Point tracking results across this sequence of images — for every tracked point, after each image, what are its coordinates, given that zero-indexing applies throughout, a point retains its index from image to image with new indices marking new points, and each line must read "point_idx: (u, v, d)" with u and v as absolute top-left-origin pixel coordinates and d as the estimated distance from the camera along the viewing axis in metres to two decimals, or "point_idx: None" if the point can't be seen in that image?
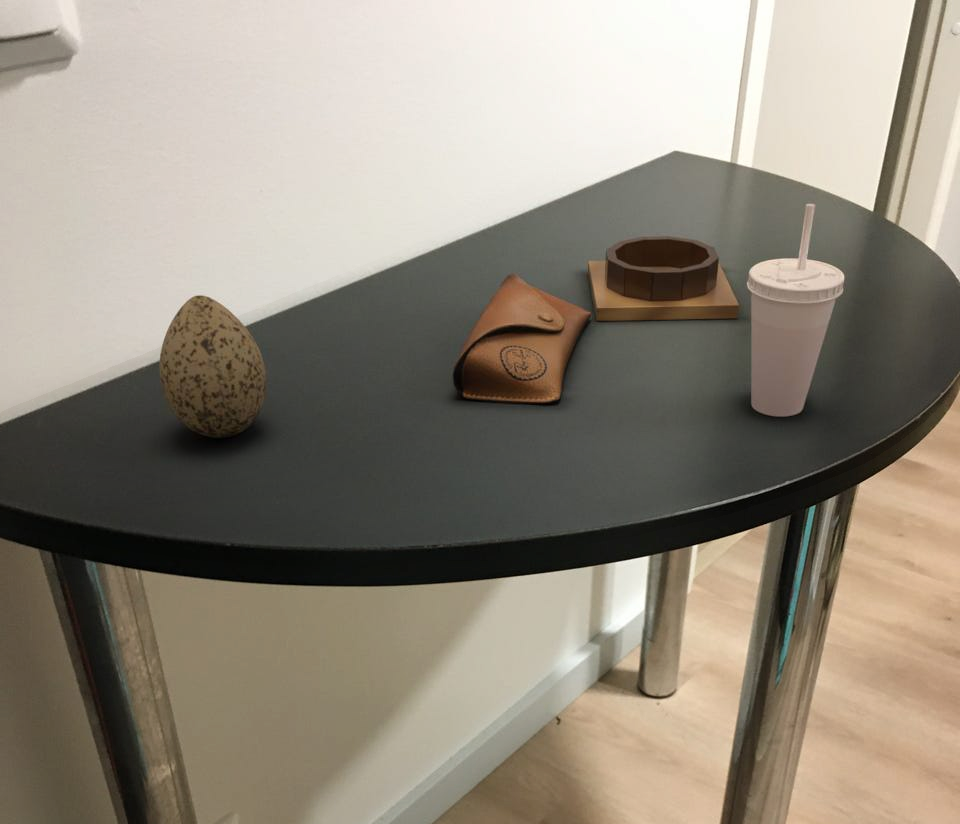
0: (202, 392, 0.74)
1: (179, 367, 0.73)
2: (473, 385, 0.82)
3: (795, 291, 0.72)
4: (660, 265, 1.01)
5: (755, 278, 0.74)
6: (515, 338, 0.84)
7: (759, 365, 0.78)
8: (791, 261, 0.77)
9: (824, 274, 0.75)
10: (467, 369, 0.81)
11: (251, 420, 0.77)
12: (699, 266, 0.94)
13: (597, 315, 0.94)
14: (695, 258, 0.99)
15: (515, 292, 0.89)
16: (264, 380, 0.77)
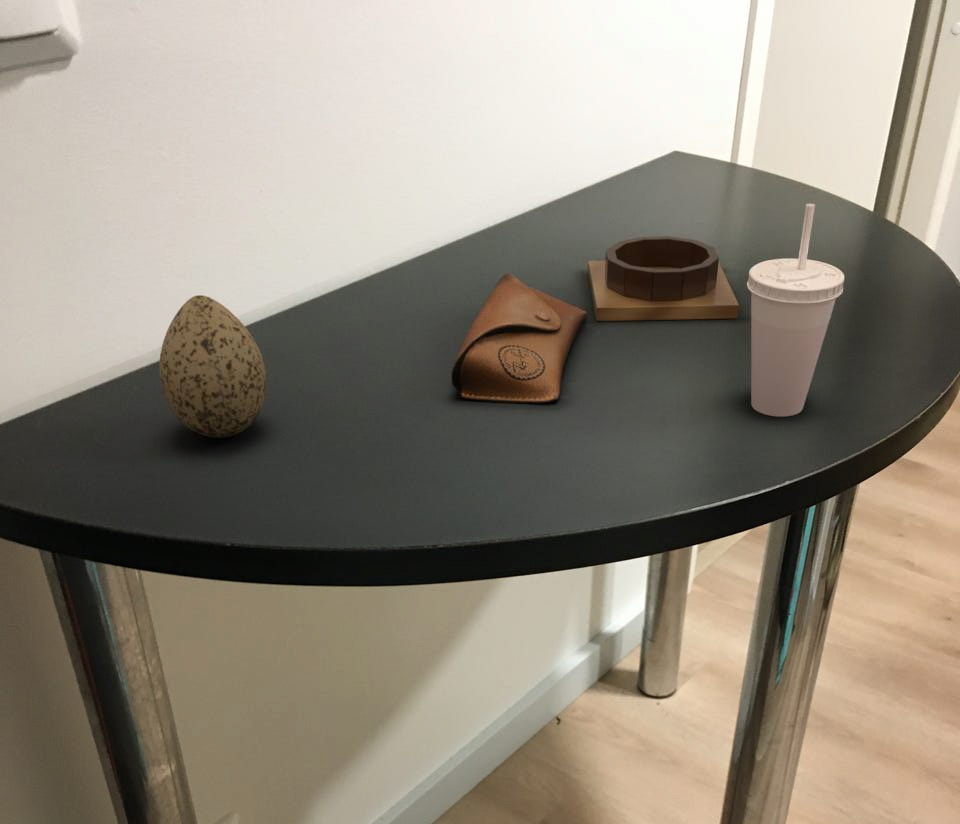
0: (202, 392, 0.74)
1: (179, 367, 0.73)
2: (471, 385, 0.82)
3: (795, 291, 0.72)
4: (660, 265, 1.01)
5: (755, 278, 0.74)
6: (513, 337, 0.84)
7: (759, 365, 0.78)
8: (791, 261, 0.77)
9: (824, 274, 0.75)
10: (466, 369, 0.81)
11: (251, 420, 0.77)
12: (699, 266, 0.94)
13: (597, 315, 0.94)
14: (695, 258, 0.99)
15: (511, 291, 0.89)
16: (264, 380, 0.77)
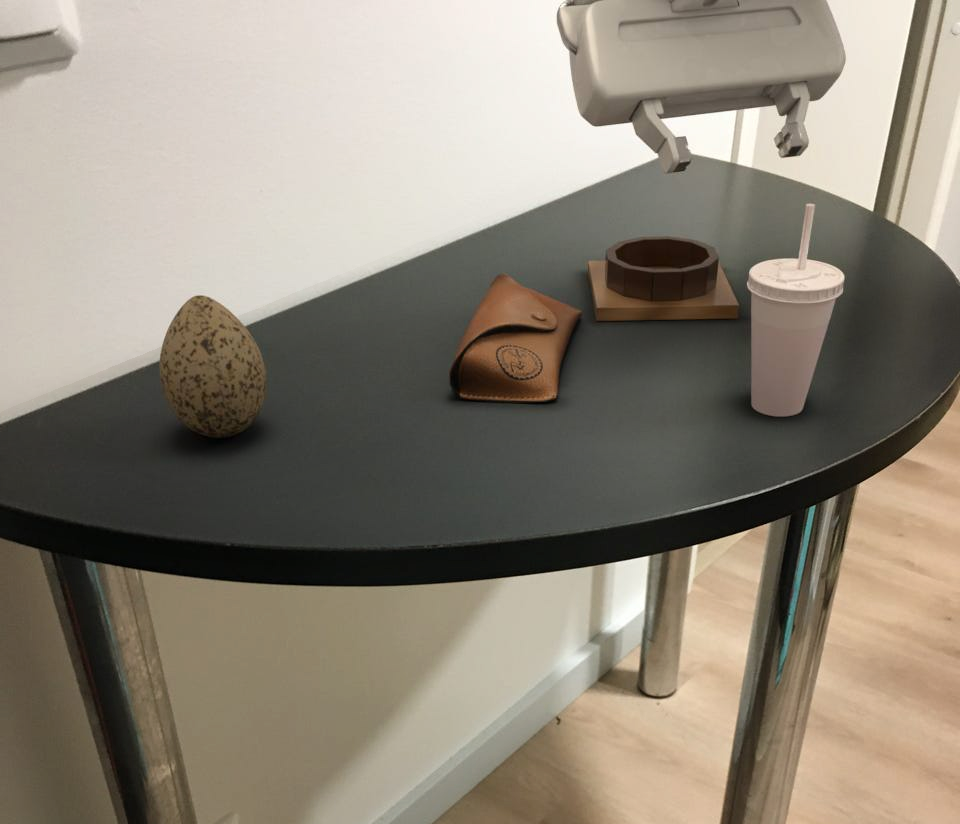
0: (202, 392, 0.74)
1: (179, 367, 0.73)
2: (469, 385, 0.82)
3: (795, 291, 0.72)
4: (660, 265, 1.01)
5: (755, 278, 0.74)
6: (510, 337, 0.84)
7: (759, 365, 0.78)
8: (791, 261, 0.77)
9: (824, 274, 0.75)
10: (464, 370, 0.81)
11: (251, 420, 0.77)
12: (699, 266, 0.94)
13: (597, 315, 0.94)
14: (695, 258, 0.99)
15: (507, 291, 0.89)
16: (264, 380, 0.77)
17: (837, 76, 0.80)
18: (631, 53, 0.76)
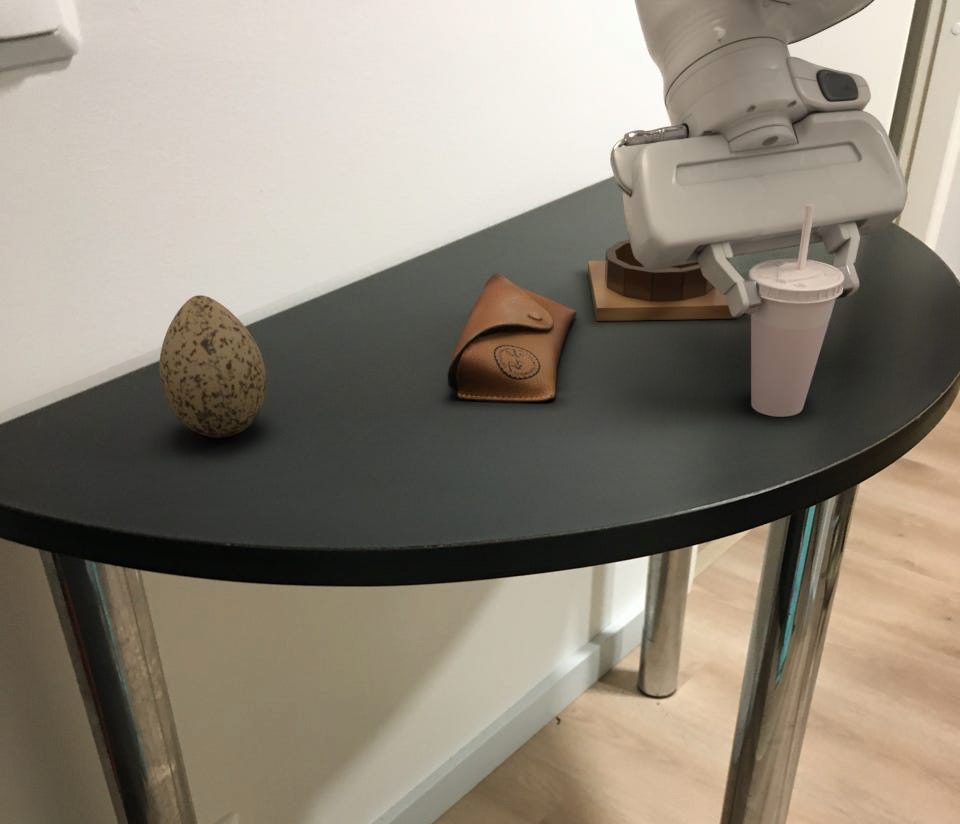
0: (202, 392, 0.74)
1: (179, 367, 0.73)
2: (468, 385, 0.82)
3: (795, 291, 0.72)
4: None
5: (755, 278, 0.74)
6: (507, 337, 0.84)
7: (758, 366, 0.78)
8: (791, 261, 0.77)
9: (824, 274, 0.75)
10: (462, 370, 0.81)
11: (251, 420, 0.77)
12: (699, 266, 0.94)
13: (597, 315, 0.94)
14: None
15: (502, 291, 0.90)
16: (264, 380, 0.77)
17: (899, 213, 0.77)
18: (689, 198, 0.73)
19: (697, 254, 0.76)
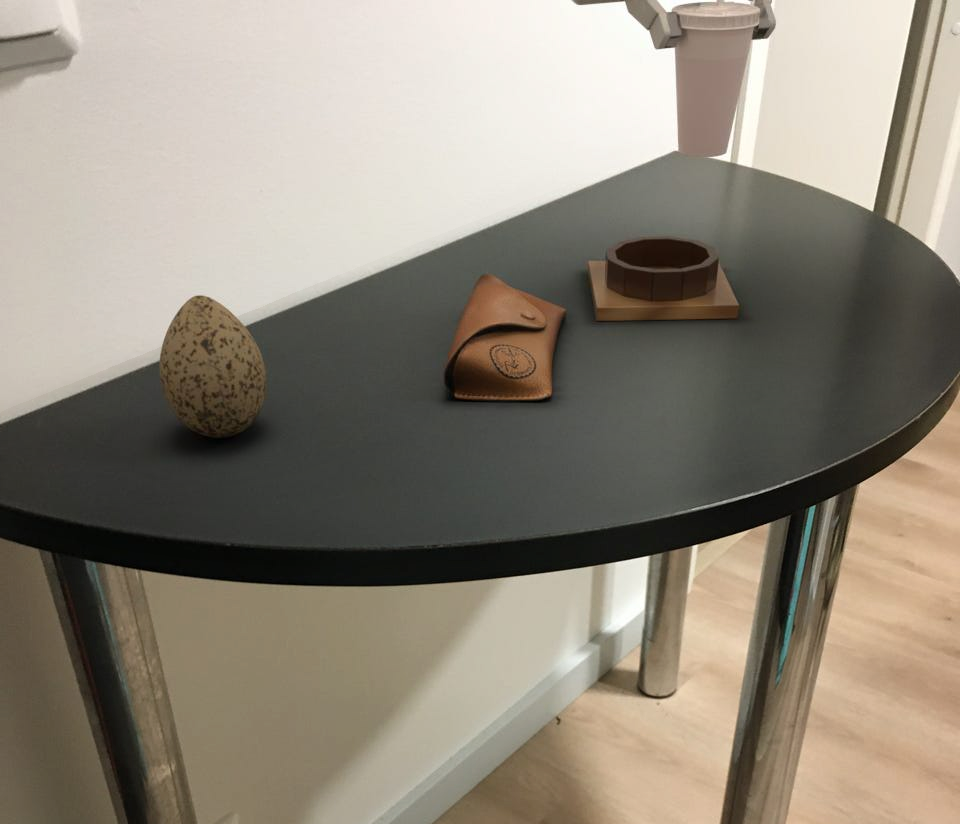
0: (202, 392, 0.74)
1: (179, 367, 0.73)
2: (464, 385, 0.82)
3: (712, 18, 0.77)
4: (660, 265, 1.01)
5: (676, 11, 0.79)
6: (502, 337, 0.84)
7: (682, 104, 0.82)
8: None
9: (741, 9, 0.79)
10: (459, 370, 0.81)
11: (251, 420, 0.77)
12: (699, 266, 0.94)
13: (597, 315, 0.94)
14: (695, 258, 0.99)
15: (494, 291, 0.90)
16: (264, 380, 0.77)
17: None
18: None
19: None
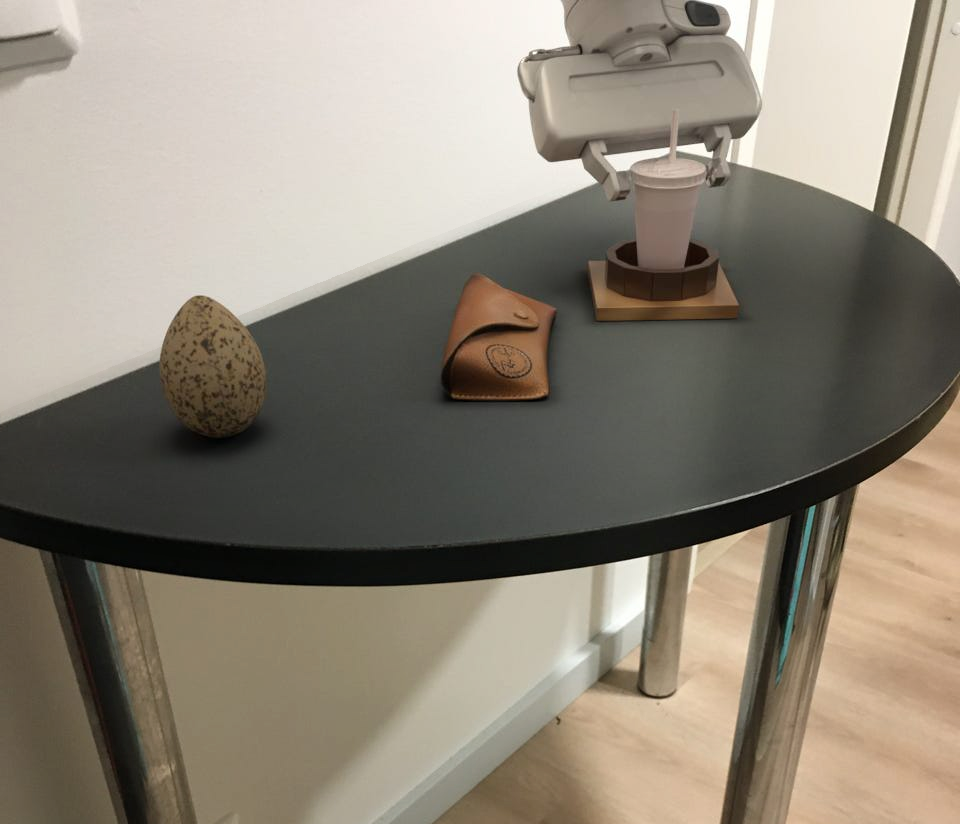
0: (202, 392, 0.74)
1: (179, 367, 0.73)
2: (461, 385, 0.82)
3: (664, 179, 0.90)
4: None
5: (634, 170, 0.92)
6: (496, 336, 0.85)
7: (641, 245, 0.95)
8: (666, 159, 0.95)
9: (690, 167, 0.92)
10: (456, 370, 0.81)
11: (251, 420, 0.77)
12: (699, 266, 0.94)
13: (597, 315, 0.94)
14: (695, 258, 0.99)
15: (485, 291, 0.90)
16: (264, 380, 0.77)
17: (755, 119, 0.95)
18: (579, 102, 0.90)
19: None
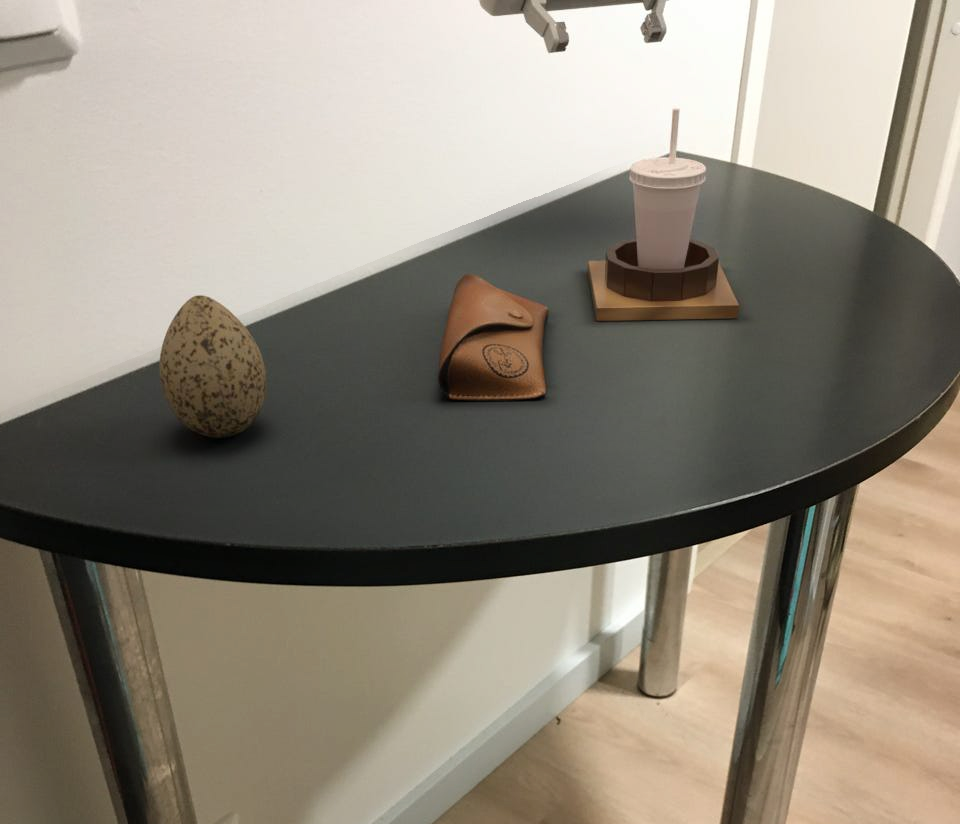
0: (202, 392, 0.74)
1: (179, 367, 0.73)
2: (459, 386, 0.82)
3: (664, 179, 0.90)
4: None
5: (634, 170, 0.92)
6: (492, 336, 0.85)
7: (641, 245, 0.95)
8: (666, 159, 0.95)
9: (690, 167, 0.92)
10: (453, 370, 0.81)
11: (251, 420, 0.77)
12: (699, 266, 0.94)
13: (597, 315, 0.94)
14: (695, 258, 0.99)
15: (479, 291, 0.90)
16: (264, 380, 0.77)
17: None
18: None
19: None
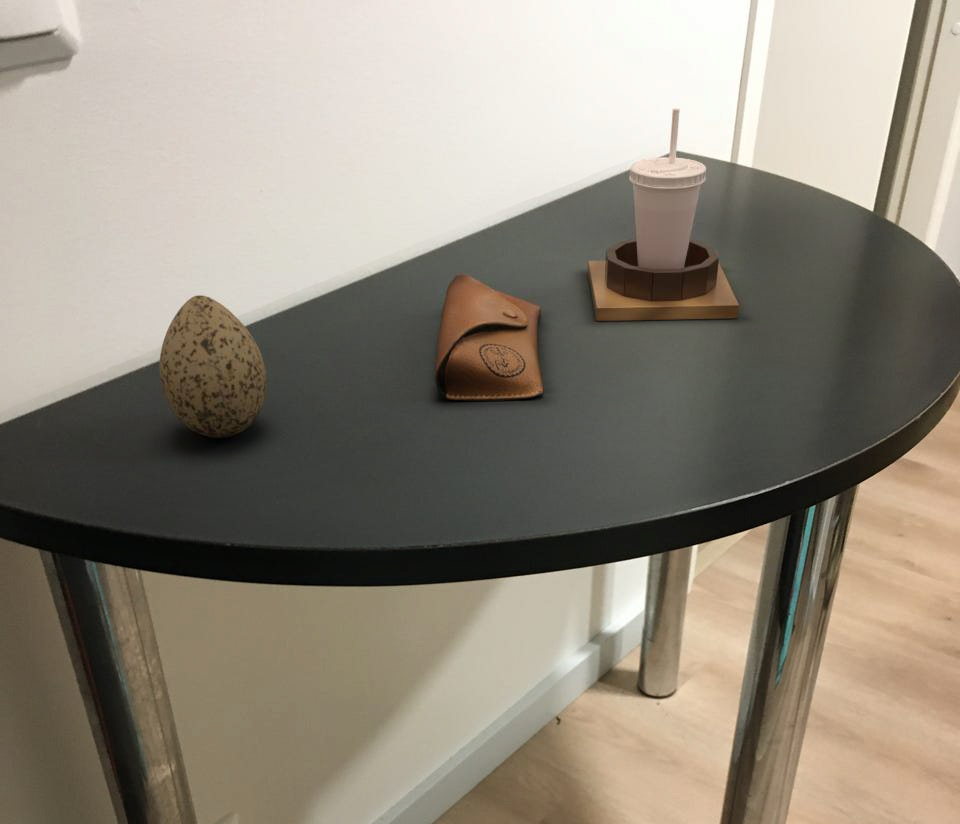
0: (202, 392, 0.74)
1: (179, 367, 0.73)
2: (456, 386, 0.82)
3: (664, 179, 0.90)
4: None
5: (634, 170, 0.92)
6: (488, 336, 0.85)
7: (641, 245, 0.95)
8: (666, 159, 0.95)
9: (690, 167, 0.92)
10: (451, 371, 0.81)
11: (251, 420, 0.77)
12: (699, 266, 0.94)
13: (597, 315, 0.94)
14: (695, 258, 0.99)
15: (472, 291, 0.90)
16: (264, 380, 0.77)
17: None
18: None
19: None
